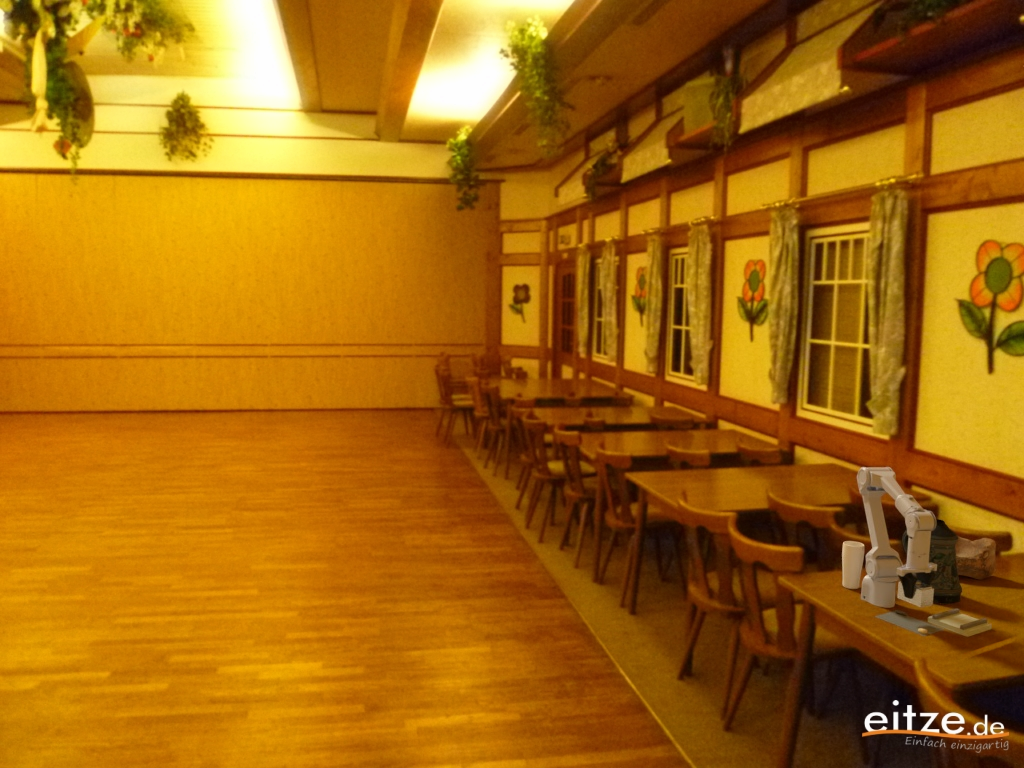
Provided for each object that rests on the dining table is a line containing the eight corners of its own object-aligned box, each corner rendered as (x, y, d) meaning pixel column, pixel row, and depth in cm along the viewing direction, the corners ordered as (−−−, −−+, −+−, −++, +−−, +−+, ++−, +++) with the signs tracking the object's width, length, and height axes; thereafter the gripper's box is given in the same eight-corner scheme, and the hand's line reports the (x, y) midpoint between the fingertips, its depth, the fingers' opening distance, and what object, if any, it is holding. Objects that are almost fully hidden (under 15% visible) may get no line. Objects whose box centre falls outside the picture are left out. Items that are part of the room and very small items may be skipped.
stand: (927, 624, 240) (928, 613, 240) (951, 617, 246) (952, 606, 246) (966, 640, 230) (968, 628, 230) (990, 632, 236) (991, 620, 236)
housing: (897, 597, 241) (898, 577, 240) (909, 595, 243) (910, 575, 242) (920, 607, 234) (922, 586, 233) (932, 605, 236) (934, 584, 235)
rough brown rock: (912, 574, 289) (916, 534, 286) (924, 559, 302) (928, 521, 299) (986, 592, 274) (991, 550, 271) (995, 576, 287) (1000, 536, 284)
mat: (874, 619, 244) (874, 613, 243) (894, 613, 249) (895, 607, 248) (923, 639, 230) (924, 632, 230) (944, 633, 235) (945, 626, 235)
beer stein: (956, 608, 254) (963, 531, 252) (890, 593, 266) (896, 520, 263) (965, 594, 267) (971, 520, 265) (901, 580, 279) (907, 510, 276)
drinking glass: (855, 583, 275) (859, 540, 273) (865, 590, 268) (868, 547, 267) (836, 583, 275) (839, 540, 273) (845, 590, 268) (848, 546, 266)
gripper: (912, 558, 230) (909, 604, 232) (947, 553, 236) (943, 597, 237) (891, 551, 236) (888, 595, 238) (926, 546, 242) (923, 589, 244)
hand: (914, 596), depth 238 cm, fingers closed on housing, 5 cm apart
